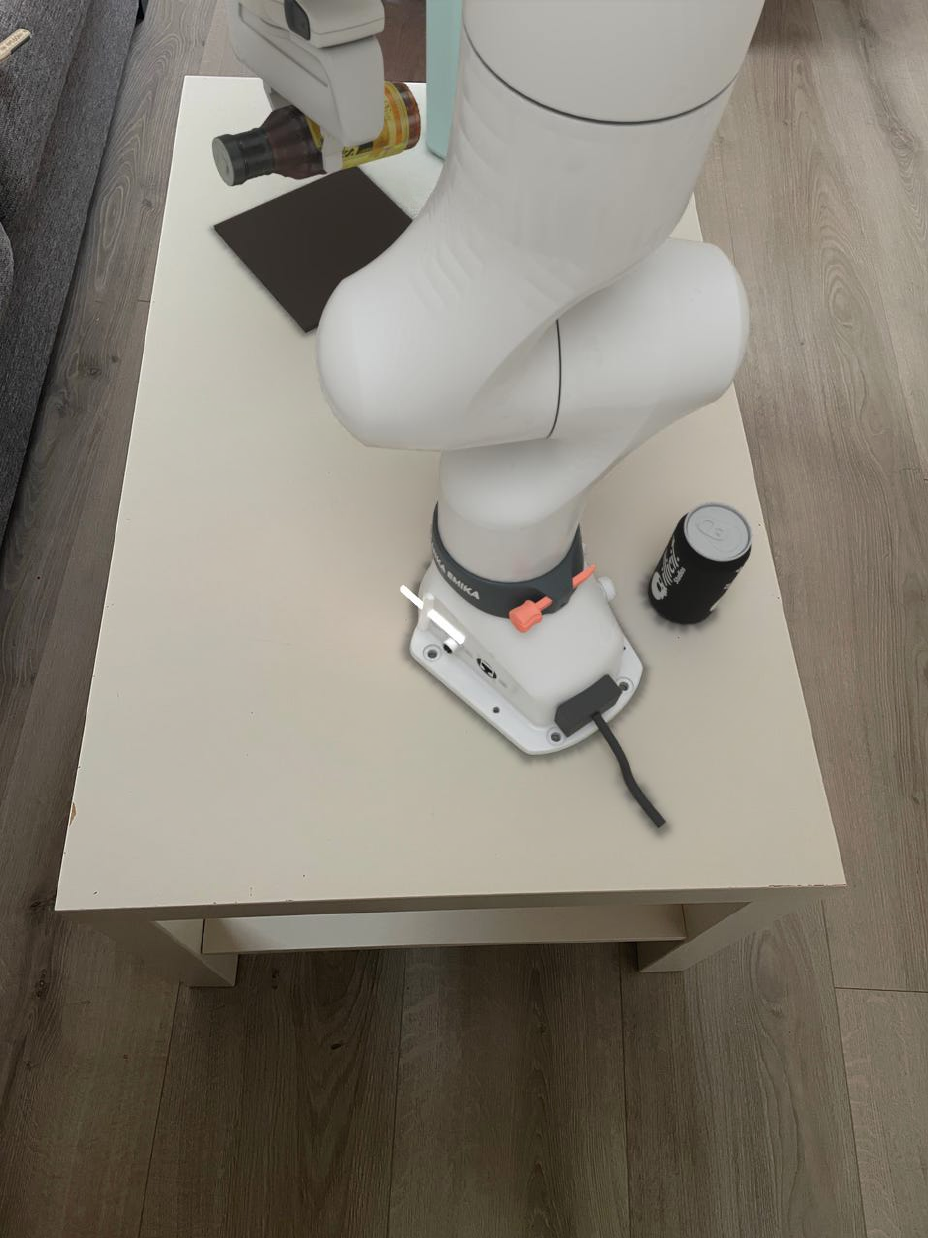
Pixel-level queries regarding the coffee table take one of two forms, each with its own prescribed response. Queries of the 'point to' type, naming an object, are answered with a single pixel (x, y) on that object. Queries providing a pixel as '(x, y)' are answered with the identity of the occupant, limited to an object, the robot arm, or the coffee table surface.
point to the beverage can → (700, 562)
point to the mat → (315, 239)
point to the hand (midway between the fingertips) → (309, 150)
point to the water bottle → (441, 70)
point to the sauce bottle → (312, 142)
